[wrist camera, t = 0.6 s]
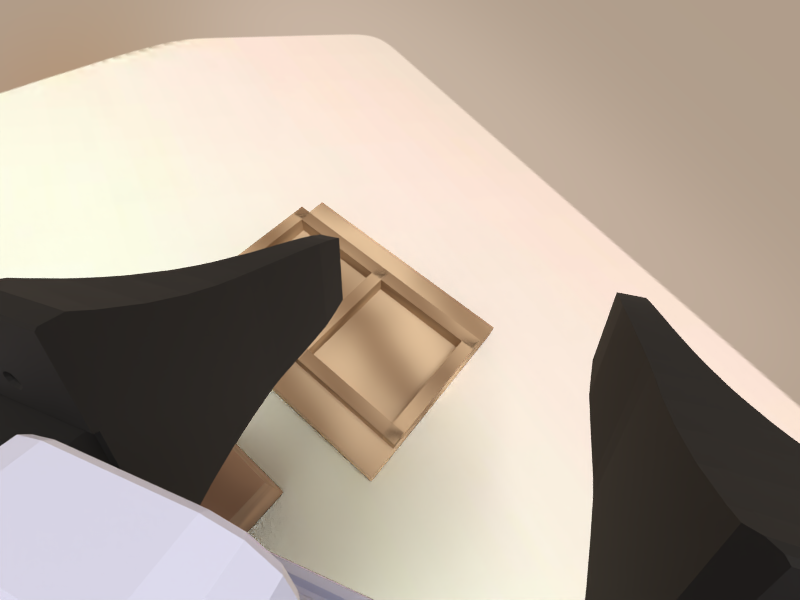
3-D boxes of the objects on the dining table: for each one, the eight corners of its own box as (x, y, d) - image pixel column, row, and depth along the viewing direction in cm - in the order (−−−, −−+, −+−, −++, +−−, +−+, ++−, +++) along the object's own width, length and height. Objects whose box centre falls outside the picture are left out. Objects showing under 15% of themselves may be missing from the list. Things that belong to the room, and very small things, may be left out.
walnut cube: (208, 575, 21) (168, 585, 17) (148, 504, 23) (96, 497, 18) (283, 492, 23) (265, 482, 19) (224, 431, 25) (193, 409, 20)
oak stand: (370, 481, 24) (371, 476, 22) (193, 316, 28) (179, 298, 26) (489, 335, 29) (498, 319, 27) (323, 213, 33) (320, 191, 31)
